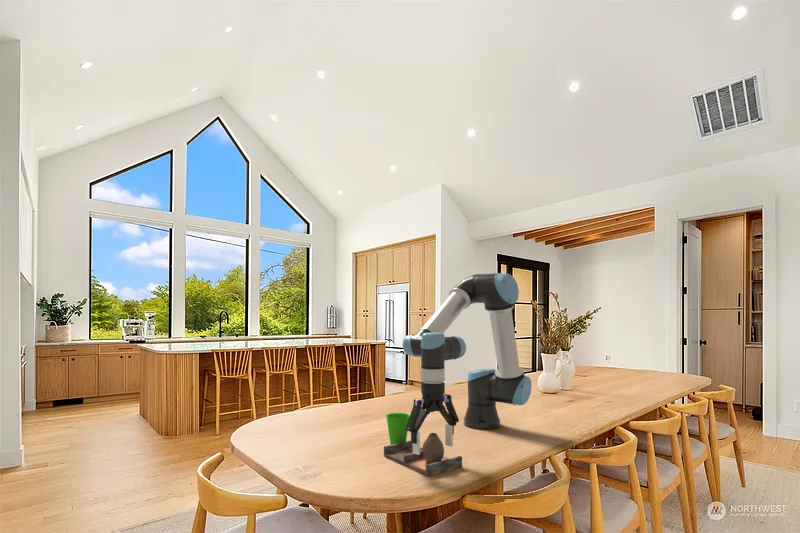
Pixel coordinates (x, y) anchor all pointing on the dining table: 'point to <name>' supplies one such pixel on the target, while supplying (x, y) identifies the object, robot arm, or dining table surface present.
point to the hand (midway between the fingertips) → (433, 449)
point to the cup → (397, 427)
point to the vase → (433, 449)
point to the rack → (419, 459)
